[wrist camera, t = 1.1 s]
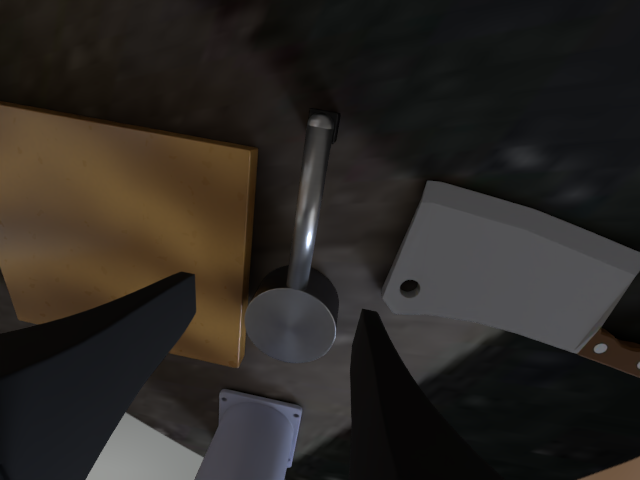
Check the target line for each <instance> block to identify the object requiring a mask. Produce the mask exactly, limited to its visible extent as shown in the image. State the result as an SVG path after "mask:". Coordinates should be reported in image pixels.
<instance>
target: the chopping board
mask: <svg viewBox="0 0 640 480" xmlns="http://www.w3.org/2000/svg"><path fill="white" fill-rule="evenodd" d="M257 158H258V148H256V147H250V146H245V145H239V144H234V143H228V142H223V141H217V140H212V139H206V138H201V137H195V136H190V135H185V134H179V133H174V132H168V131H163V130H157V129H152V128H146V127H141V126H135V125H130V124H124V123H119V122H113V121H108V120H102V119H97V118H91V117H86V116H81V115H75V114H70V113H64V112H59V111H53V110H48V109H42V108H37V107H31V106H26V105H20V104H15V103H9V102H4V101H0V268H1V271H2V274H3V277H4V279H5V282H6V285H7V288H8V291H9V294H10V297H11V300H12V303H13V306H14V309H15V311H16V314H17V317H18V320H21V321H25V322H30V323H34V324H43V323H46V322H50V321H54V320H57V319H61V318H65V317H68V316H71V315H74V314H77V313H80V312H83V311H86V310H89V309H92V308H95V307H98V306H100V305H103V304H106V303H108V302H110V301H113V300H115V299H118V298H120V297H123V296H125V295H128V294H130V293H133V292H135V291H137V290H139V289H142V288H144V287H146V286H148V285H151V284H153V283H155V282H157V281H160V280H162V279H164V278H166V277H169V276H171V275H173V274H176V273H178V272H181V271H182V272H187V273H192V274H195V287H196V314H195V315H194V317H193V319H192V321H191V322H190V324H189V326H188V327H187V329H186V331H185V332H184V334H183V335H182V336H181V338H180V339H179V340H178V341H177V343H176V344H175V345H174V347H173V348H172V349H171V350H170V352H169V353H170V354H175V355H179V356H184V357H188V358H193V359H198V360H202V361H207V362H211V363H216V364H220V365H225V366H229V367H234V368H239V366H240V363H241V361H242V359H243V357H244V352H245V337H246V328H245V319H244V318H245V312H246V309H247V307H248V292H249V277H250V263H251V248H252V233H253V218H254V203H255V188H256V173H257Z"/></svg>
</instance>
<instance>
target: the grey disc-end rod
mask: <svg viewBox="0 0 640 480" xmlns="http://www.w3.org/2000/svg"><path fill="white" fill-rule="evenodd" d="M340 115H341V114H340V113H336V112H330V111H325V110H319V109H313V108H310V111H309V119H308V123H307V130H306V138H305V145H304V153H303V161H302V168H301V176H300V184H299V191H298V199H297V207H296V214H295V222H294V230H293V237H292V245H291V253H290V260H289V265H288V266H283V267H280V268H277V269H275V270H273V271H272V272H270V273H269V274H268V275H267V276H266V277H265V278H264V280H263V281H262V283H261V284H260V286H259V288H258V290H257V291H256V293H255V295H254V297H253V298H252V300H251V302H250V303H249V305H248V307H247V309H246V312H245V318H244V319H245V328H246V331H247V334H248V336H249V338H250V339H251V341H252V342H253V343H254V345H255V346H256V347H257V348H258V349H259V350H261V351H262V352H263V353H265V354H267V355H268V356H270V357H272V358H274V359H277V360H280V361H284V362H289V363H304V362H309V361H313V360H315V359H317V358H319V357H321V356H322V355H324V354H325V353H326V352H327V351H328V350H329V349H330V348H331V346H332V344H333V343H334V340H335V336H336V328H337V318H338V308H339V299H338V294H337V291H336V289H335V287H334V286H333V284H332V283H331V282H330V281H329V279H328V278H326V277H325V276H324V275H323V274H321V273H320V272H318V271H316V270H314V269H312V268H311V262H312V256H313V250H314V244H315V238H316V232H317V226H318V220H319V214H320V208H321V202H322V196H323V190H324V184H325V178H326V172H327V166H328V160H329V154H330V148H331V144H334V142H335V141H336V139H337V133H338V127H339V121H340Z"/></svg>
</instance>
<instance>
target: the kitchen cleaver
mask: <svg viewBox="0 0 640 480" xmlns="http://www.w3.org/2000/svg"><path fill="white" fill-rule="evenodd" d="M639 271H640V252H638V251H635V250H633V249H631V248H628V247H626V246H623V245H621V244H619V243H616V242H614V241H611V240H609V239H607V238H604V237H602V236H599V235H597V234H595V233H592V232H590V231H587V230H585V229H583V228H580V227H578V226H575V225H573V224H570V223H568V222H565V221H563V220H560V219H558V218H555V217H553V216H550V215H548V214H545V213H543V212H541V211H538V210H536V209H532V208H529V207H526V206H522V205H519V204H515V203H512V202H509V201H505V200H502V199H498V198H495V197H492V196H488V195H485V194H482V193H478V192H475V191H471V190H468V189H464V188H461V187H457V186H454V185H450V184H447V183H444V182H438V181H427V182H426V185H425V188H424V191H423V194H422V197H421V200H420V203H419V205H418V207H417V210H416V212H415V214H414V216H413V219H412V221H411V223H410V226H409V228H408V230H407V232H406V235H405V237H404V239H403V242H402V244H401V246H400V248H399V251H398V253H397V255H396V258H395V260H394V262H393V264H392V267H391V269H390V271H389V274H388V276H387V278H386V281H385V283H384V285H383V287H382V290H381V294H382V299H383V300H384V301H385V303H386V304H387V305H388V307H389V308H390V309H391V311H392V312H393V313H394V314H405V315H433V316H439V317H445V318H451V319H457V320H464V321H470V322H476V323H479V324H483V325H487V326H491V327H494V328H498V329H502V330H506V331H509V332H513V333H517V334H520V335H523V336H526V337H529V338H532V339H534V340H537V341H540V342H543V343H546V344H549V345H552V346H555V347H558V348H561V349H564V350H567V351H570V352H573V353H577V354H578V355H580V356H583V357H585V358H588V359H591V360H593V361H596V362H599V363H601V364H604V365H607V366H610V367H612V368H615V369H618V370H620V371H623V372H626V373H628V374H631V375H634V376H636V377H639V378H640V344H637V343H634V342H628V341H621V340H618V339H616V338H615V337H614V336H613V335H612V334H610V333H609V332H608V331H607V330H605V329H603V328H601V327H602V325H603V324H604V322H605V321H606V319H607V318H608V316H609V315H610V313H611V312H612V310H613V309H614V307H615V306H616V304H617V303H618V301H619V300H620V298H621V297H622V295H623V294H624V293H625V291H626V290H627V288H628V287H629V285H630V284H631V282H632V281H633V279H634V278H635V276H636V275H637V274H638V272H639ZM406 280H415V281H417V282H418V285H417V287H416V288H415V289H414V290H413V291H408V292H406V291H403V290H401V289H400V285H401V284H402V283H403V282H404V281H406Z"/></svg>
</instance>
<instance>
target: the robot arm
mask: <svg viewBox="0 0 640 480" xmlns="http://www.w3.org/2000/svg"><path fill="white" fill-rule="evenodd" d="M195 314H196V287H195V274H192V273H187V272H182V271H181V272H178V273H176V274H173V275H171V276H169V277H166V278H164V279H162V280H160V281H157V282H155V283H153V284H151V285H148V286H146V287H144V288H142V289H139V290H137V291H135V292H133V293H130V294H128V295H125V296H123V297H120V298H118V299H115V300H113V301H110V302H108V303H106V304H103V305H100V306H98V307H95V308H92V309H89V310H86V311H83V312H80V313H77V314H74V315H71V316H68V317H65V318H61V319H57V320H54V321H50V322H46V323H43V324H39V325H36V326H32V327H28V328H24V329H20V330H15V331H11V332H7V333H2V334H0V480H85V479H86V478H87V476H88V474H89V472H90V470H91V469H92V467H93V465H94V463H95V462H96V460H97V458H98V457H99V455H100V453H101V451H102V450H103V448H104V446H105V445H106V443H107V441H108V440H109V438H110V436H111V434H112V433H113V431H114V430H115V428H116V427H117V425H118V423H119V421H120V420H121V418H122V416H123V415H124V414H125V412H126V410H127V409H128V407H129V406H130V404H131V403H132V401H133V400H134V398H135V397H136V395H137V394H138V392H139V390H140V389H141V388H142V386H143V385H144V383H145V382H146V381H147V379H148V378H149V377H150V376H151V374H152V373H153V372H154V370H155V369H156V368H157V367H158V365H159V364H160V363H161V362H162V360H163V359H164V358H165V357H166V355H167V354H168V353H169V352H170V350H171V349H172V348H173V347H174V345H175V344H176V343H177V341H178V340H179V339H180V338H181V336H182V335H183V334H184V332H185V331H186V329H187V327H188V326H189V324H190V322H191V321H192V319H193V317H194V315H195ZM350 382H351V418H352V438H351V455H350V470H349V480H505V479H504V478H503V477H502V476H500V475H499V474H498V473H497V472H496V471H495V470H494V469H493V468H492V467H491V466H490V465H489V464H488V463H487V462H485V461H484V460H483V459H482V458H481V457H480V456H479V455H478V454H477V453H476V452H475V451H474V450H473V449H472V448H471V447H470V446H469V445H468V444H467V443H466V442H465V441H464V440H463V439H462V438H461V437H460V436H459V434H458V433H457V432H456V431H455V430H454V429H453V428H452V427H451V426H450V425H449V423H448V422H447V421H446V420H445V419H444V418H443V416H442V415H441V414H440V413H439V412H438V411H437V409H436V408H435V407H434V406H433V405H432V403H431V402H430V401H429V400H428V398H427V397H426V396H425V394H424V393H423V392H422V390H421V389H420V387H419V386H418V385H417V383H416V382H415V380H414V379H413V377H412V376H411V374H410V373H409V371H408V369H407V368H406V366H405V365H404V363H403V361H402V360H401V358H400V356H399V354H398V353H397V351H396V349H395V347H394V345H393V343H392V342H391V340H390V338H389V336H388V334H387V332H386V330H385V327H384V325H383V323H382V321H381V319H380V316H379V314H378V313H377V312H376V311H371V310H366V309H362V311H361V315H360V319H359V322H358V326H357V330H356V333H355V337H354V341H353V344H352V353H351V365H350ZM301 415H302V407H301V406H299V405H296V404H291V403H287V402H282V401H278V400H273V399H269V398H264V397H260V396H255V395H251V394H247V393H242V392H238V391H233V390H229V389H222V390H221V392H220V394H219V426H218V428H217V430H216V433H215V435H214V437H213V439H212V441H211V444H210V446H209V448H208V450H207V453H206V455H205V457H204V459H203V462H202V464H201V466H200V468H199V470H198V473H197V475H196V477H195V480H284V478H285V473H286V468H288V467H291V465H292V460H293V455H294V450H295V445H296V440H297V435H298V430H299V425H300V420H301Z"/></svg>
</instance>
